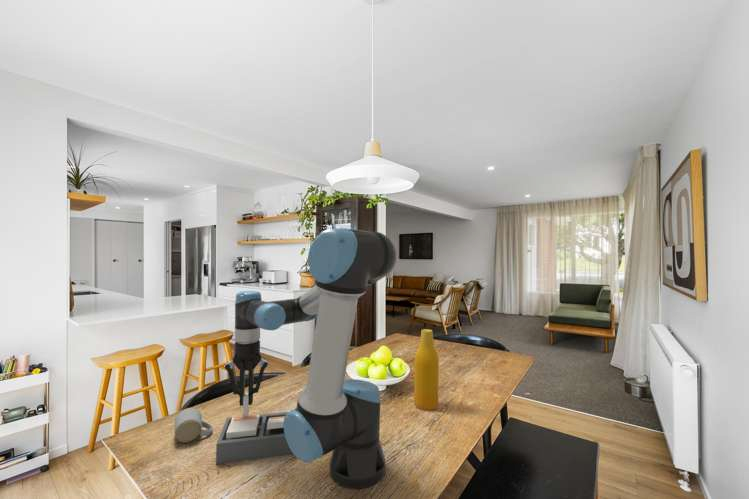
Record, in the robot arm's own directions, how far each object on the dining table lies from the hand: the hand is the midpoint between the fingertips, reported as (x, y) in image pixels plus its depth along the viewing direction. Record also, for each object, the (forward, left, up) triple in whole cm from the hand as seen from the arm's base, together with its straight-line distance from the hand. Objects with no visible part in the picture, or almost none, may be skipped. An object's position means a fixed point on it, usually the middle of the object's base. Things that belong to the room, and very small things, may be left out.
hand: (245, 414), depth 105 cm
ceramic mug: (+4, +16, -7) cm, 18 cm away
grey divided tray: (-5, -6, -7) cm, 10 cm away
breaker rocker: (-5, 0, -1) cm, 5 cm away
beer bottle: (+9, -65, -7) cm, 66 cm away
